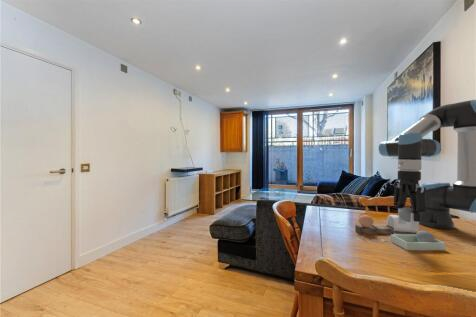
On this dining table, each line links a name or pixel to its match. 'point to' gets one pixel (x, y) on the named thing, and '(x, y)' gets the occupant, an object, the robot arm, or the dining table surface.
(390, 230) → the rail
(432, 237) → the grey ball
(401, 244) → the trough
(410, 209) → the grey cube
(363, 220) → the ball terracotta
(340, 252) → the dining table surface
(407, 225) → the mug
